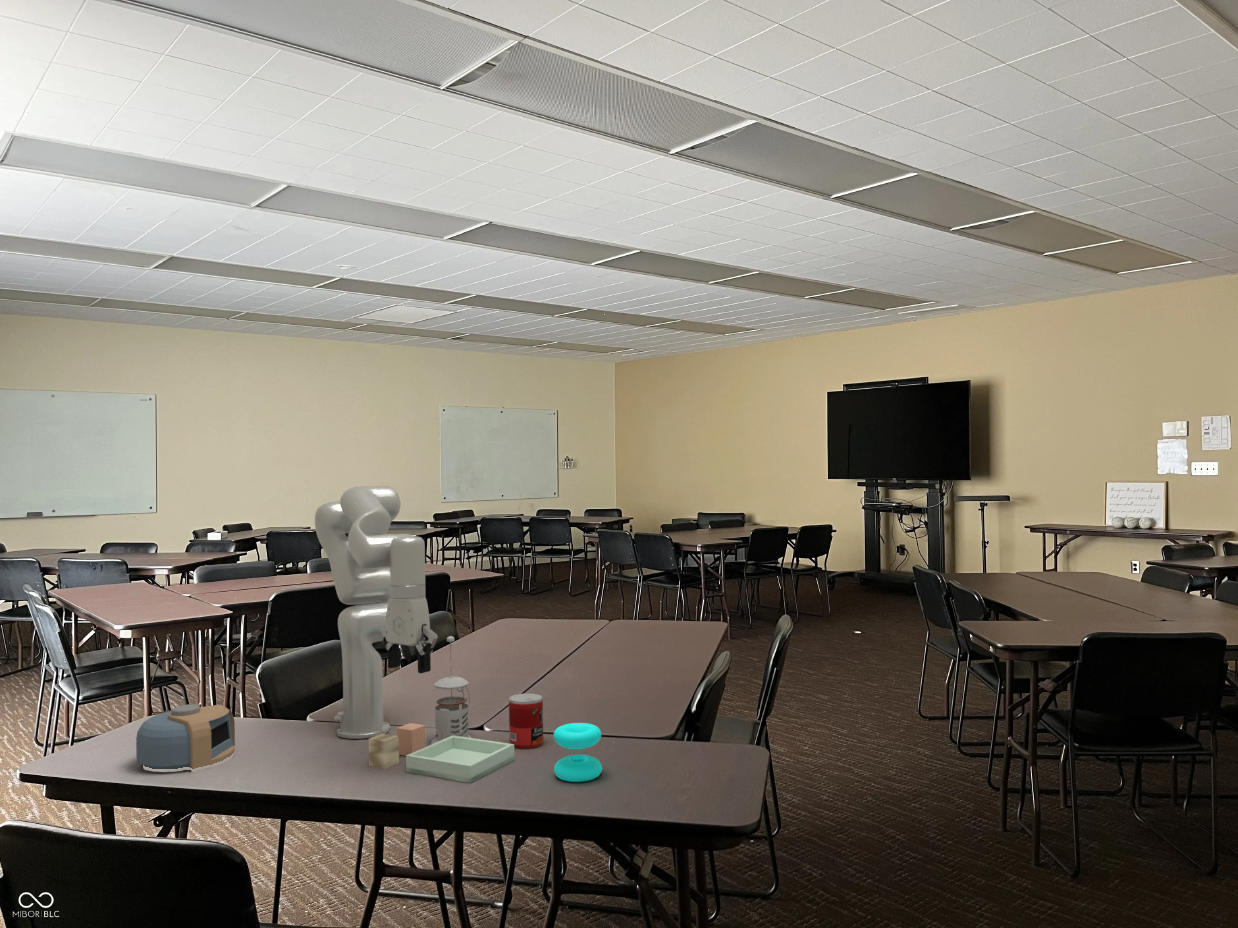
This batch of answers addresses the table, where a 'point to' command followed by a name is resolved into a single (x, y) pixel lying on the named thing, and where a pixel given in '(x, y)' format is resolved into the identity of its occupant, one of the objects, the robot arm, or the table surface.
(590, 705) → the table surface
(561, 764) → the donuts
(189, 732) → the alarm clock
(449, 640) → the french press
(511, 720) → the canned food
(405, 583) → the robot arm
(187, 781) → the table surface
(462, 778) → the tray
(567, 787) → the table surface
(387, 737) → the birch block
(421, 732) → the terracotta block
